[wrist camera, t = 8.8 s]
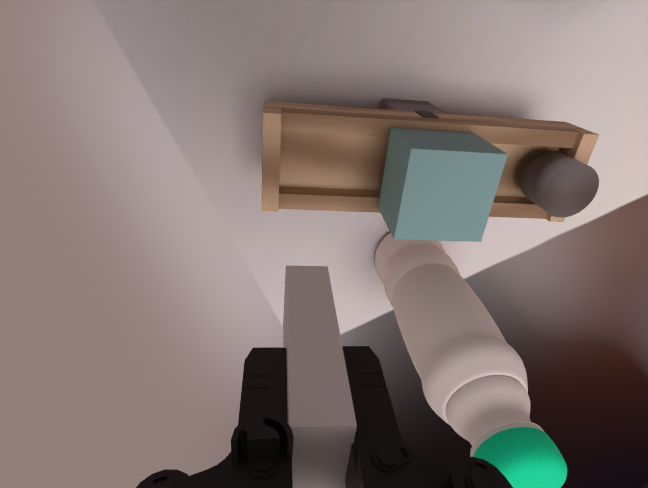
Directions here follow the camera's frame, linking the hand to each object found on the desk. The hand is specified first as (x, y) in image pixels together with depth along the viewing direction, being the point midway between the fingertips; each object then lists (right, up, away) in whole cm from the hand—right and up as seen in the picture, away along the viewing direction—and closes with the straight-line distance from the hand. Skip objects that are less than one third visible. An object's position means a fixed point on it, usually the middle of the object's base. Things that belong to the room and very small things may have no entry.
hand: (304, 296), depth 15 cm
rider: (+8, +8, +16) cm, 20 cm away
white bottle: (+10, +1, +29) cm, 30 cm away
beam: (+8, +12, +22) cm, 26 cm away
